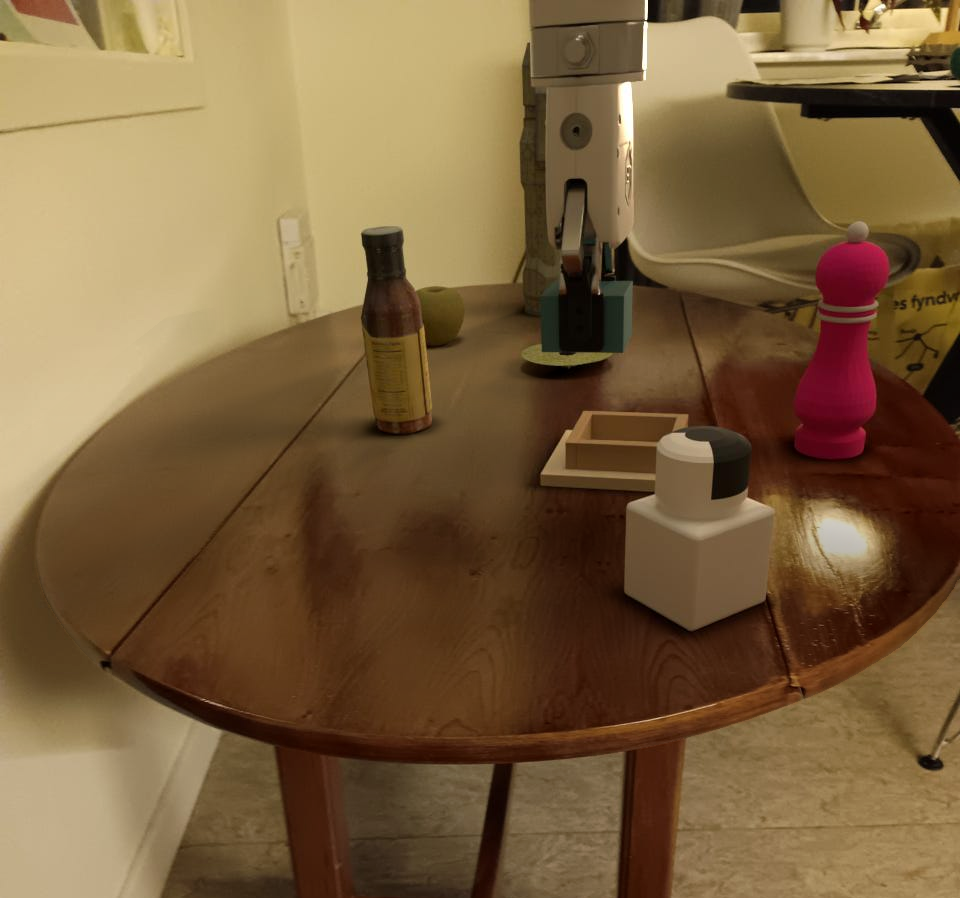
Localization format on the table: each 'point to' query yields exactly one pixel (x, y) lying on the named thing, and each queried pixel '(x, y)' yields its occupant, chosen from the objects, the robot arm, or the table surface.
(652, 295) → the table surface
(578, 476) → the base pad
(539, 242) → the thermos
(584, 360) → the green disc with hole
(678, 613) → the medicine bottle
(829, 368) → the pepper mill
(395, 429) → the sauce bottle
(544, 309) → the teal block
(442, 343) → the apple
